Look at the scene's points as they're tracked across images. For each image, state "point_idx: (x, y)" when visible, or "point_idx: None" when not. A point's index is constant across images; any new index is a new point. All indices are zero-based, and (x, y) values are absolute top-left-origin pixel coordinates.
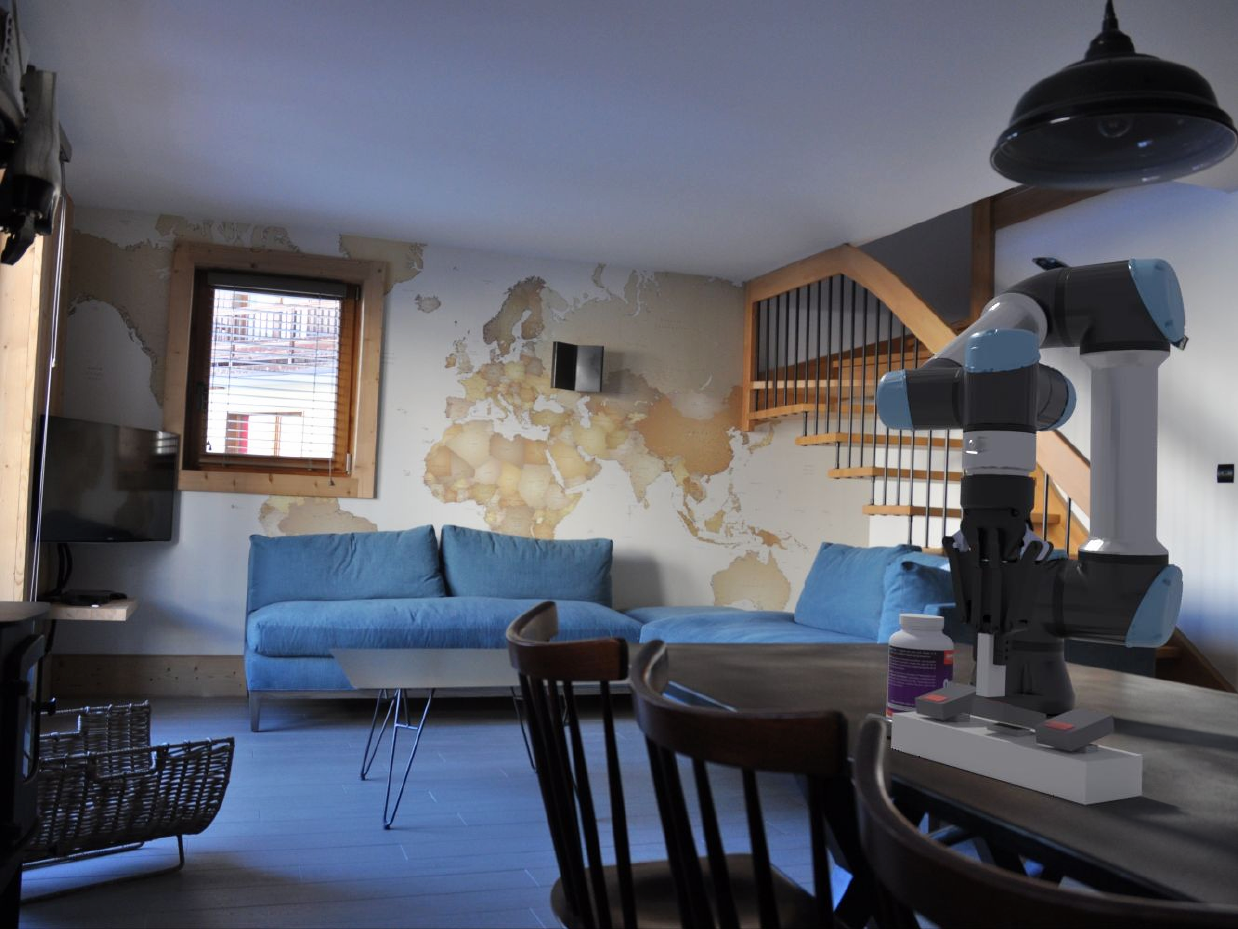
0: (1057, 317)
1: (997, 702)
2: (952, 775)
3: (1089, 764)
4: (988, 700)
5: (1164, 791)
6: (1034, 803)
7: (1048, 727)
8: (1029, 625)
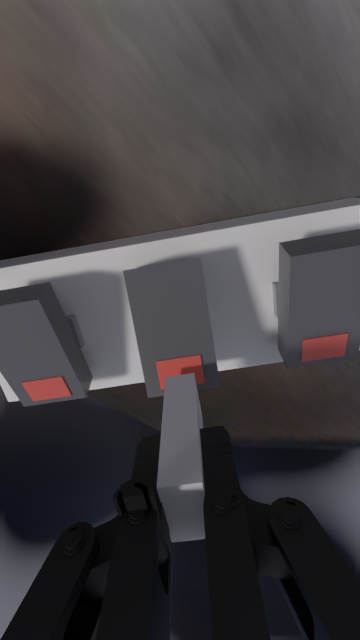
0: None
1: (203, 389)
2: None
3: None
4: None
5: (349, 120)
6: (316, 375)
7: (311, 360)
8: (311, 513)
